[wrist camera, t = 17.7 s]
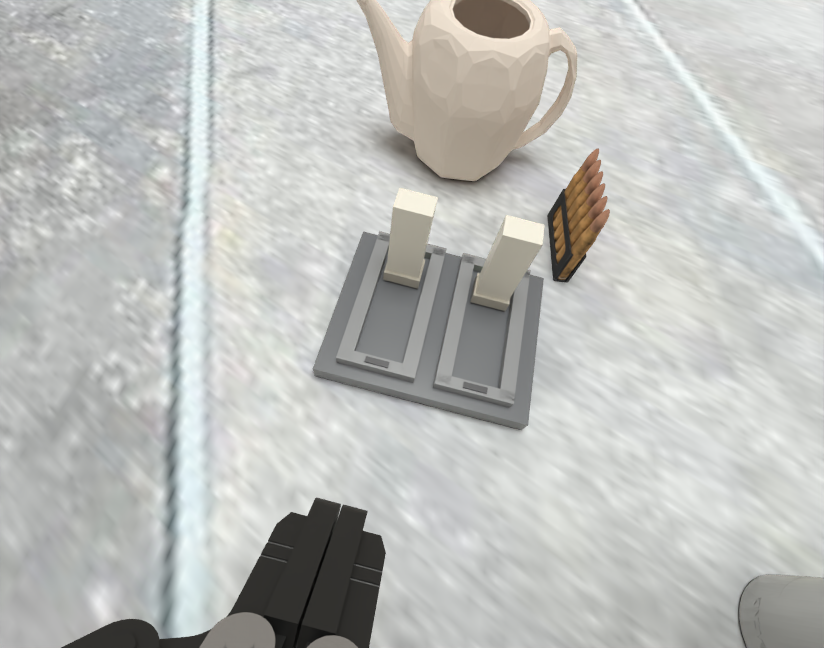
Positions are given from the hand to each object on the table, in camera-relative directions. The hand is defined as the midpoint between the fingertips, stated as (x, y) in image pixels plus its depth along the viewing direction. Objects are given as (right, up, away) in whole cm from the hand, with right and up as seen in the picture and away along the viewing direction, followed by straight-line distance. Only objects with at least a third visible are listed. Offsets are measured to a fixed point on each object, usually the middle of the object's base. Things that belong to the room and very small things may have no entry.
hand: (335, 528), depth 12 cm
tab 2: (+11, +9, +37) cm, 40 cm away
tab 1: (+1, +11, +37) cm, 39 cm away
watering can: (+7, +30, +50) cm, 59 cm away
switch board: (+5, +5, +37) cm, 38 cm away
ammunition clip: (+21, +16, +45) cm, 52 cm away
